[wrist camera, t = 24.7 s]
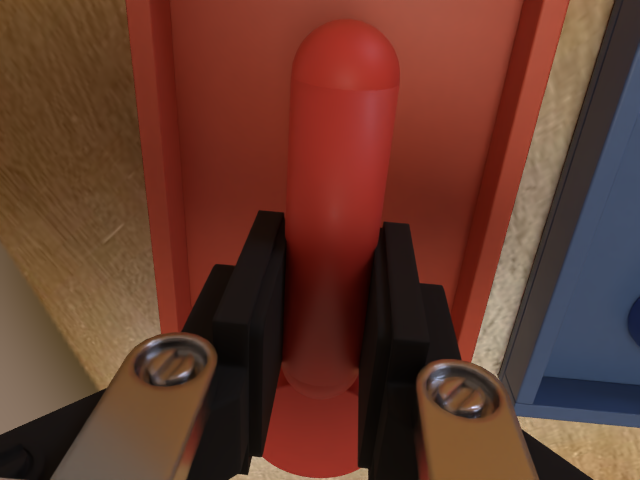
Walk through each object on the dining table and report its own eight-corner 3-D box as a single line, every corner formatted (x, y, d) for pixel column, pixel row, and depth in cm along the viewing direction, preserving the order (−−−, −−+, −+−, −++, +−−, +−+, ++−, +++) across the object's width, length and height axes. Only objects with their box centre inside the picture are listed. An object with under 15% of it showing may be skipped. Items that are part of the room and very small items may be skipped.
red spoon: (259, 6, 9) (236, 16, 7) (444, 21, 9) (462, 34, 7) (255, 433, 14) (242, 493, 12) (373, 445, 14) (374, 507, 12)
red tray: (142, -119, 13) (110, -131, 11) (564, -89, 12) (596, -96, 11) (182, 347, 20) (165, 383, 18) (449, 372, 19) (458, 411, 18)
